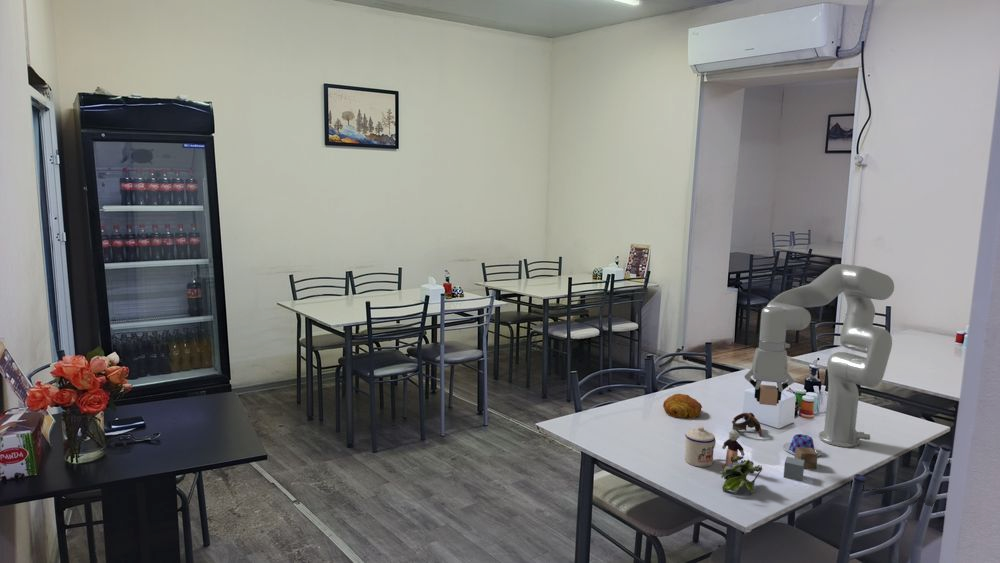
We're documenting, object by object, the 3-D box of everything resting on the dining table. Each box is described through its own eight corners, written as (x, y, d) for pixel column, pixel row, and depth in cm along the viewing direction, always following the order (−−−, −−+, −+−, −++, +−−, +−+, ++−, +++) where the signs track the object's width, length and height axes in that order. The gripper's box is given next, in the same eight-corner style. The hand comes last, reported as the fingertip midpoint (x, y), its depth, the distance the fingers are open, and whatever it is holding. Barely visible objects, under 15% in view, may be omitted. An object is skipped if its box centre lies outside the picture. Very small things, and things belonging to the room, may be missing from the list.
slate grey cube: (803, 475, 198) (804, 460, 197) (801, 481, 193) (802, 466, 193) (785, 471, 200) (787, 456, 199) (783, 477, 196) (784, 462, 195)
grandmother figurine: (717, 466, 203) (719, 428, 201) (722, 462, 206) (725, 425, 204) (741, 474, 198) (744, 434, 196) (746, 470, 200) (749, 431, 198)
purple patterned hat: (780, 442, 223) (781, 428, 223) (818, 447, 220) (819, 432, 219) (785, 456, 212) (786, 441, 211) (824, 461, 209) (826, 446, 208)
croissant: (657, 419, 249) (657, 400, 248) (672, 403, 262) (672, 385, 260) (694, 427, 241) (694, 407, 239) (707, 410, 253) (707, 391, 251)
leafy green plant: (733, 500, 192) (748, 463, 195) (760, 510, 182) (776, 472, 185) (707, 483, 189) (723, 446, 192) (733, 493, 179) (750, 454, 182)
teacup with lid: (700, 470, 200) (702, 434, 198) (677, 459, 207) (679, 425, 206) (725, 461, 206) (727, 427, 205) (702, 451, 214) (704, 418, 212)
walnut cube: (810, 462, 207) (811, 447, 206) (816, 469, 202) (817, 454, 201) (794, 461, 208) (795, 447, 207) (799, 468, 203) (801, 453, 202)
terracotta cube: (774, 400, 206) (775, 385, 205) (776, 405, 201) (777, 390, 201) (758, 399, 208) (759, 384, 207) (759, 404, 203) (760, 388, 202)
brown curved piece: (762, 441, 225) (752, 422, 224) (737, 446, 230) (726, 427, 229) (766, 422, 235) (756, 403, 234) (741, 428, 240) (732, 409, 239)
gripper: (799, 345, 203) (794, 400, 206) (742, 341, 208) (738, 395, 210) (803, 351, 196) (798, 408, 199) (744, 346, 200) (739, 402, 203)
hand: (767, 400), depth 204 cm, fingers closed on terracotta cube, 5 cm apart
